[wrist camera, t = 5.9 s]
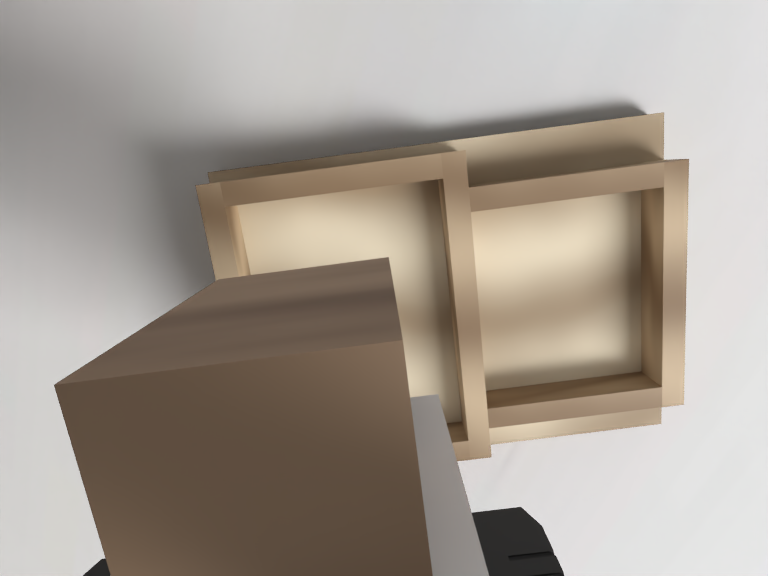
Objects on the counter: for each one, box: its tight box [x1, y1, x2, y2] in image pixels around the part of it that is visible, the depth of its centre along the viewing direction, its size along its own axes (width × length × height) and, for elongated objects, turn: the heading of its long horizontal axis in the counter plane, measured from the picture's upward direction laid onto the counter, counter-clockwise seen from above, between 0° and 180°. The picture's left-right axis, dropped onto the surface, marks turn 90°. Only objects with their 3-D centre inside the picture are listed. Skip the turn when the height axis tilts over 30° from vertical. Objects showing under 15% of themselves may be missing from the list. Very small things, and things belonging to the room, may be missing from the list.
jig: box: [195, 112, 689, 461], centre depth 23 cm, size 15×20×3 cm
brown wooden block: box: [54, 257, 433, 576], centre depth 10 cm, size 10×4×6 cm, turn 7°
